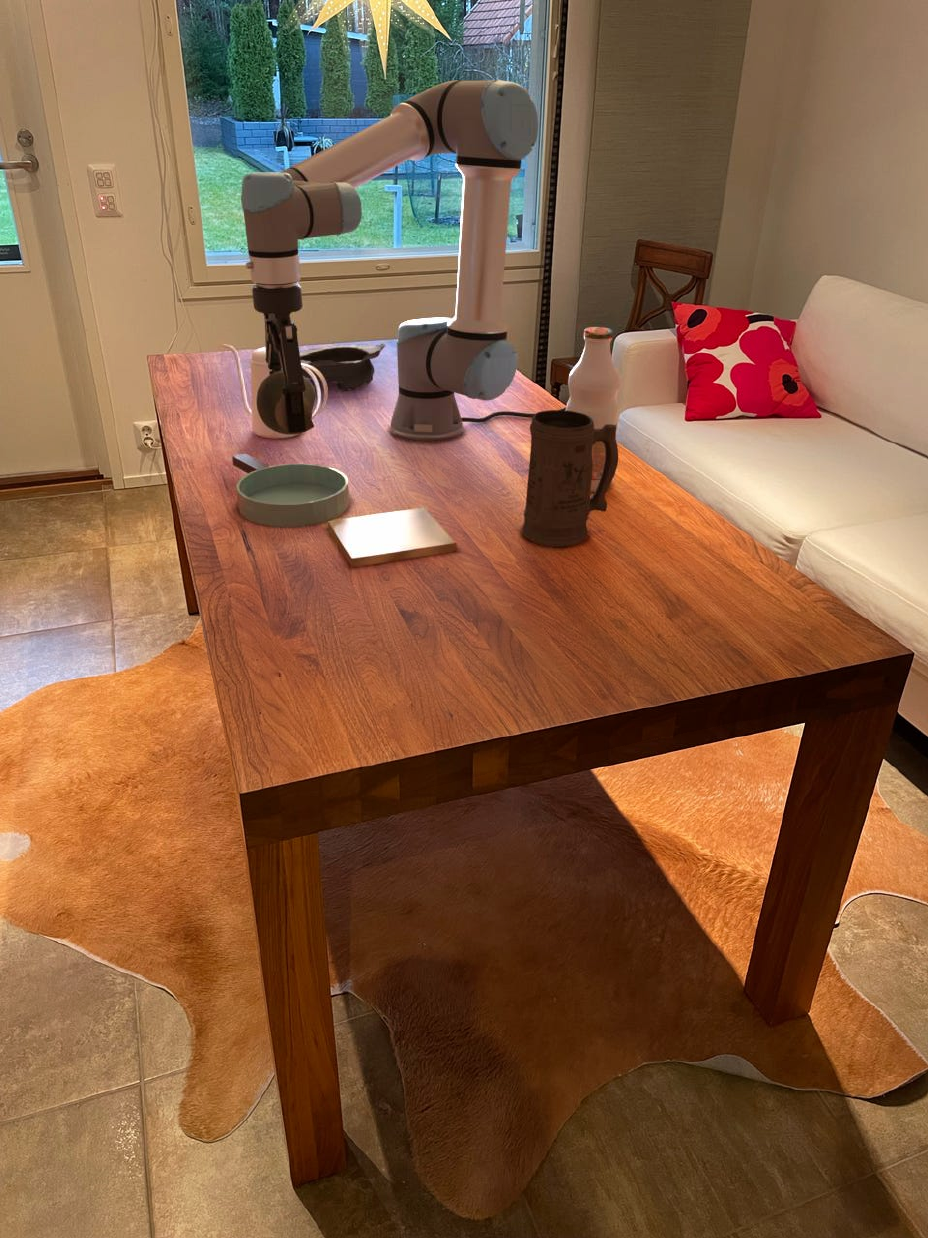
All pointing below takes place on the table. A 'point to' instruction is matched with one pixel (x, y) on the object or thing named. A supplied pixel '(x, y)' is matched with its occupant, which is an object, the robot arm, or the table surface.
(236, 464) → the pan handle
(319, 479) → the pan
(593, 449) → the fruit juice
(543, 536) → the beer stein
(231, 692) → the table surface
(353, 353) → the stone bowl
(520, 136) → the robot arm
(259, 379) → the coffeepot
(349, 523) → the cutting board
